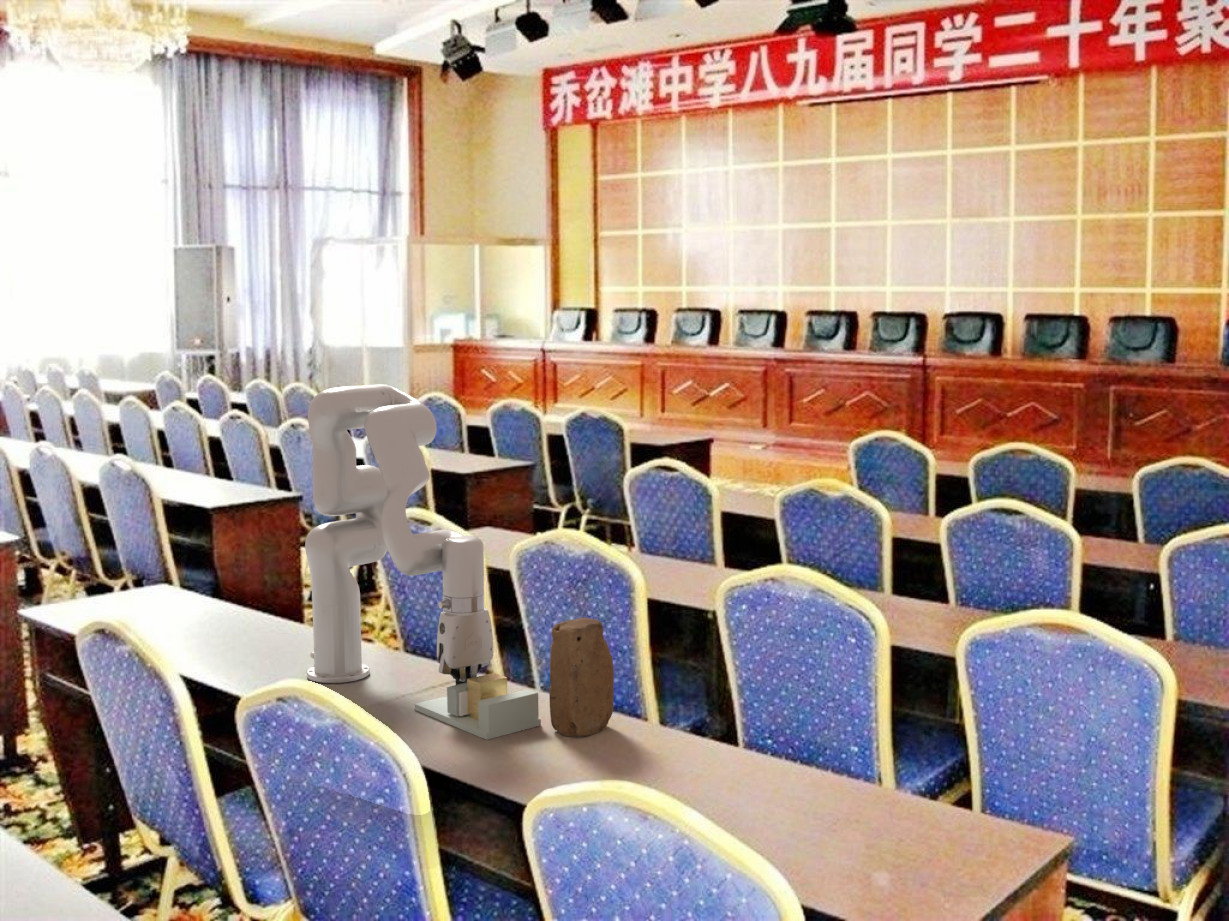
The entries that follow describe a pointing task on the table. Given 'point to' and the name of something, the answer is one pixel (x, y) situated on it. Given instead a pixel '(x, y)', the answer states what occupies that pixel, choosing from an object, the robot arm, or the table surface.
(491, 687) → the tan rectangular workpiece
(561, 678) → the block
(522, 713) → the vise body
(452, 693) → the sliding jaw
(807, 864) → the table surface
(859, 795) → the table surface
